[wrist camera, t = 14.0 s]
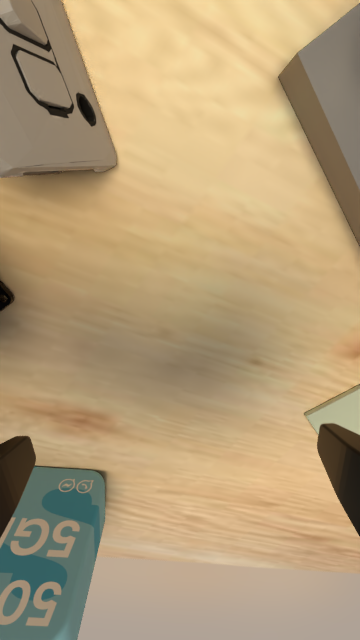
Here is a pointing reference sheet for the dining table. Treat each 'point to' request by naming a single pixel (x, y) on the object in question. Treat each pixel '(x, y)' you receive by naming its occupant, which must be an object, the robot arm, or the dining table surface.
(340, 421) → the coaster
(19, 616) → the data package
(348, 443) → the robot arm
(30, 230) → the dining table surface
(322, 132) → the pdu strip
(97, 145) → the electrical switch
